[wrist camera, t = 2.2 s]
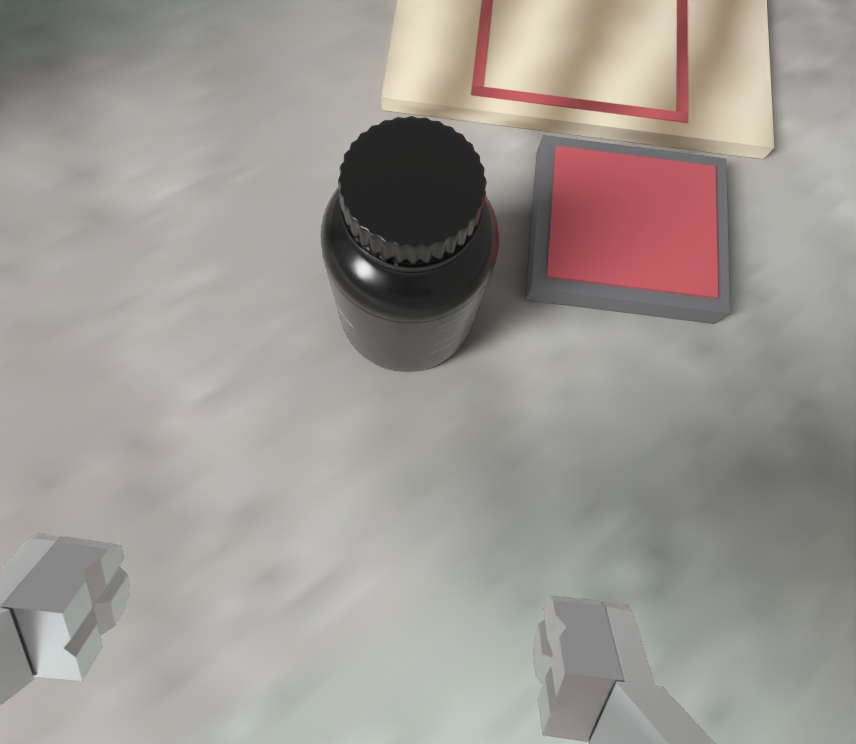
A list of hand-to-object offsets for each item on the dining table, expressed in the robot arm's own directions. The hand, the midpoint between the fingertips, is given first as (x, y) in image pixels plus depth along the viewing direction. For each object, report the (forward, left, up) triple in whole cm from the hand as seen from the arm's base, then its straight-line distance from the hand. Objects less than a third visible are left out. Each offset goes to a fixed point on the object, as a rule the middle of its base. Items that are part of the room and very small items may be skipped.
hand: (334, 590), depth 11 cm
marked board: (+8, +31, -16) cm, 36 cm away
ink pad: (+11, +18, -16) cm, 27 cm away
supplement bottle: (0, +12, -16) cm, 20 cm away
